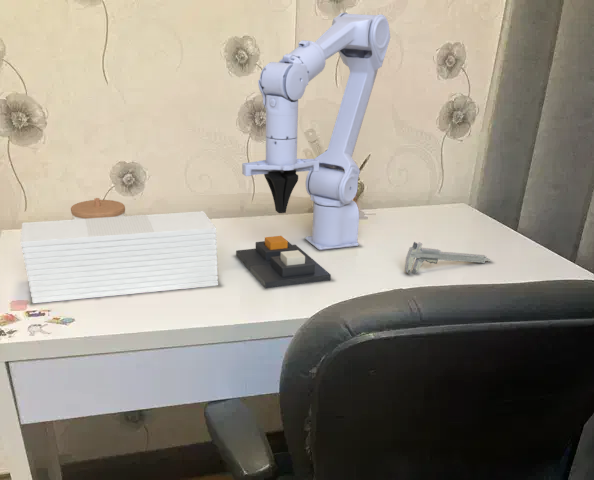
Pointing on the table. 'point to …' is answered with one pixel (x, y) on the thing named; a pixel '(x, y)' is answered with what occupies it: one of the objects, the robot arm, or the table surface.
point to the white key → (292, 257)
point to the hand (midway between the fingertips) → (280, 211)
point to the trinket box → (97, 209)
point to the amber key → (276, 242)
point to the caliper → (436, 257)
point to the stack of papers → (119, 255)
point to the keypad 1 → (263, 254)
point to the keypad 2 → (289, 273)
